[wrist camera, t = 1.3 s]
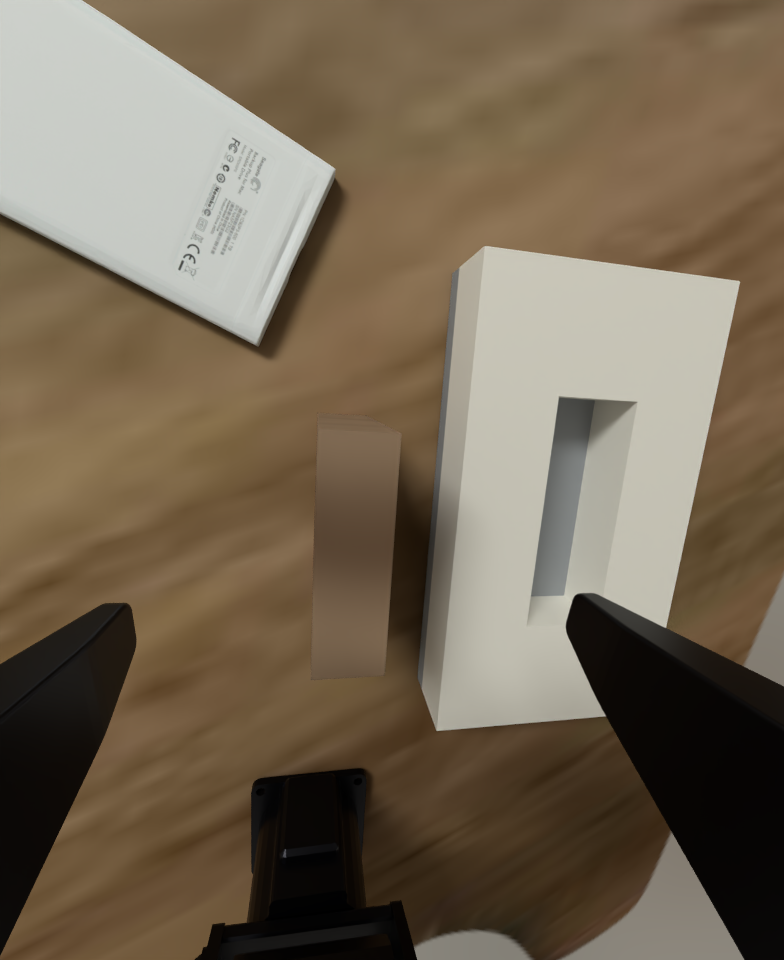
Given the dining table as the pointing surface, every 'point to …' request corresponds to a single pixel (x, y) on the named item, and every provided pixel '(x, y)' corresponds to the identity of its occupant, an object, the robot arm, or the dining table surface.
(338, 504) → the walnut plate
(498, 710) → the slotted board
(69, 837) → the dining table surface
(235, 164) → the external hard drive
